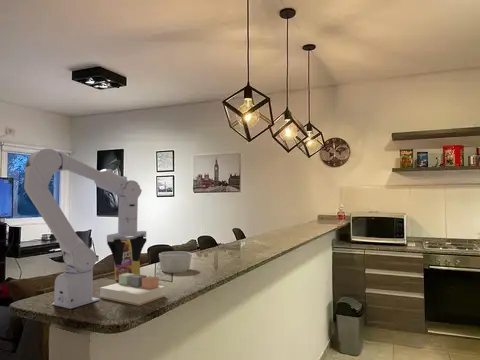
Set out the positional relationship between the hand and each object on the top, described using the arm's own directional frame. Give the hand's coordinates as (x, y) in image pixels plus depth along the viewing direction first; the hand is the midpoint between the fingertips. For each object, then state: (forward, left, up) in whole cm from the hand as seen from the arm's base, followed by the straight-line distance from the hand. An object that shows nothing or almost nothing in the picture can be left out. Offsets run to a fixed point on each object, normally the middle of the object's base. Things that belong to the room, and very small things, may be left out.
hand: (127, 262), depth 113 cm
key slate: (0, -5, -7) cm, 8 cm away
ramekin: (+36, +10, -10) cm, 38 cm away
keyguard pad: (-2, -5, -9) cm, 11 cm away
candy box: (+12, +12, -10) cm, 20 cm away
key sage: (0, 0, -7) cm, 7 cm away
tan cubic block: (0, -10, -7) cm, 12 cm away
